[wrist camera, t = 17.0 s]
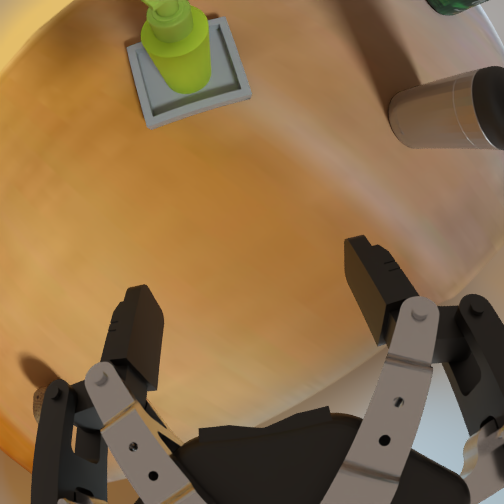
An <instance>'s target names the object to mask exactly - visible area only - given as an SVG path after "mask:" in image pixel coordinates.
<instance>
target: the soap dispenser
mask: <svg viewBox="0 0 504 504" xmlns="http://www.w3.org/2000/svg"><path fill="white" fill-rule="evenodd" d="M141 1H142V2H144V3H145V4H146V5H147V6H149V8H148V10H147V20H146V22H145V23H144V25H143V27H142V30H141V42H142V44H143V46H144V48H145V49H146V51H147V53H148V54H149V56H150V58H151V59H152V61H153V62H154V64H155V66H156V67H157V69H158V70H159V72H160V74H161V75H162V77H163V79H164V80H165V82H166V83H167V85H168V86H169V88H170V89H172V90H173V91H175V92H177V93H180V94H191V93H195V92H197V91H199V90H201V89H202V88H204V87H205V86H206V84H207V83H208V82H209V80H210V77H211V58H210V41H209V24H208V20H207V17H206V16H205V14H204V13H203V12H202V11H201V10H199V9H198V8H196V7H194V6H191V5H190V3H189V2H188V0H141Z"/></svg>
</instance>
